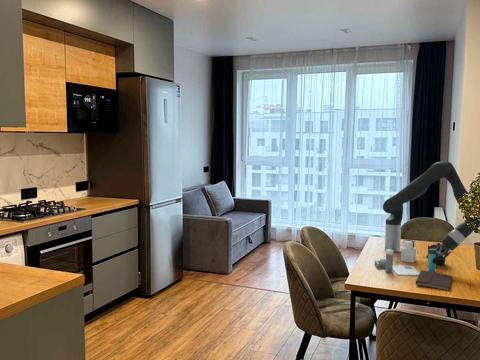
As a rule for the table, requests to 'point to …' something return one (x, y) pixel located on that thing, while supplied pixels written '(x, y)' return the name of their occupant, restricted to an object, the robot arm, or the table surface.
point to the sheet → (405, 270)
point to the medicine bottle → (408, 251)
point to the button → (382, 260)
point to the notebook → (434, 280)
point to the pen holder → (441, 261)
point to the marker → (431, 256)
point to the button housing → (380, 265)
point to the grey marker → (389, 261)
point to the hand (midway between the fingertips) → (430, 260)
